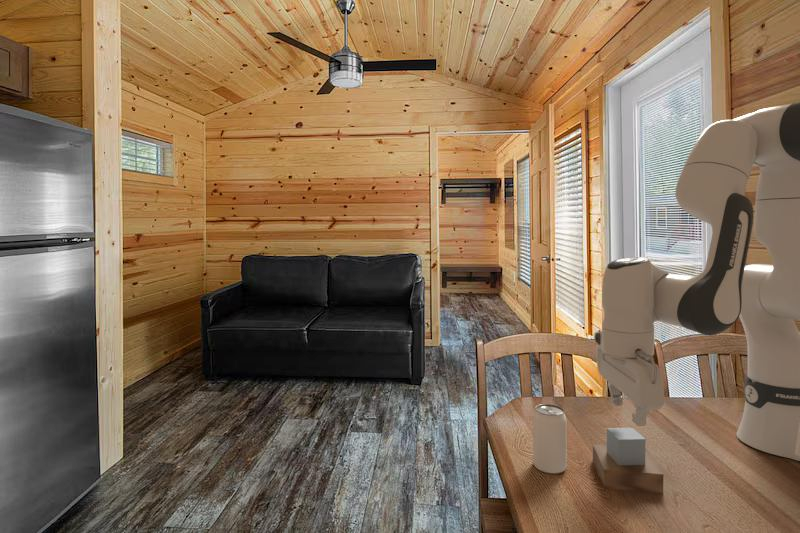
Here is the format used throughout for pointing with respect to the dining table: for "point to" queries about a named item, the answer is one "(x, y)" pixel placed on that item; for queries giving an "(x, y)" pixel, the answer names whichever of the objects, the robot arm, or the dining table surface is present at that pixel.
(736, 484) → the dining table surface
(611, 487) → the walnut block
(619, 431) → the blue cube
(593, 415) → the dining table surface
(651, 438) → the dining table surface
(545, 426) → the can
